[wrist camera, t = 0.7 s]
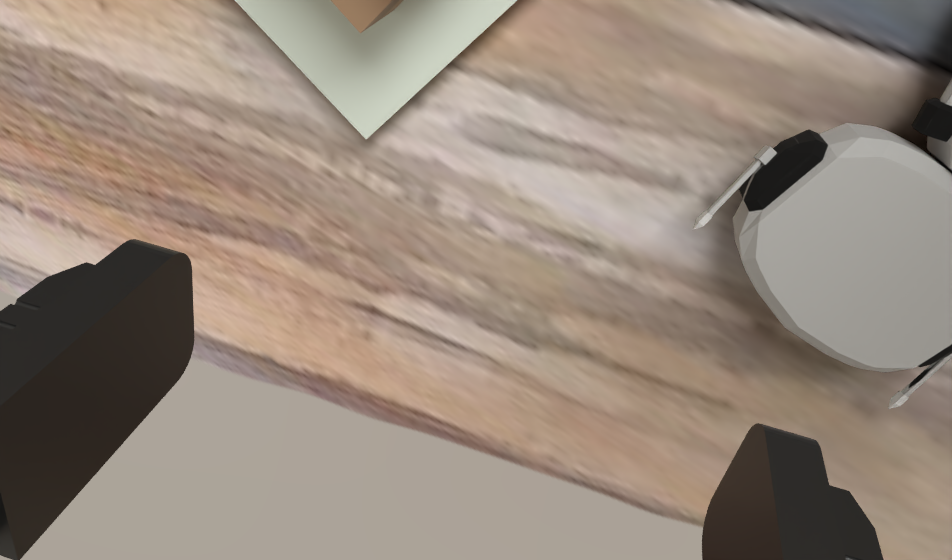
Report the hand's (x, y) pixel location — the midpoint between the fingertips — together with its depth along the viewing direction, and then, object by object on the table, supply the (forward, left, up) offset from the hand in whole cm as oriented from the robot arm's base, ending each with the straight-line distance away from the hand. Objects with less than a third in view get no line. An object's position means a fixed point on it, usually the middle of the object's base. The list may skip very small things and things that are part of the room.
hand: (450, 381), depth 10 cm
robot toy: (-7, +13, -24) cm, 28 cm away
